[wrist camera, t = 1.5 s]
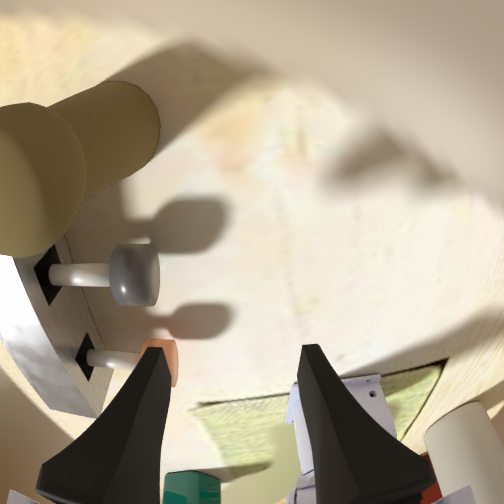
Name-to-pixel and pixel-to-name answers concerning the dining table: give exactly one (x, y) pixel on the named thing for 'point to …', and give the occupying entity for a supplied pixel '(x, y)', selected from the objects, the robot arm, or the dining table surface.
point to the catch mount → (51, 333)
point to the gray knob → (117, 274)
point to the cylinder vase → (467, 453)
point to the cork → (68, 159)
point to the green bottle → (191, 488)
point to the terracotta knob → (135, 357)
